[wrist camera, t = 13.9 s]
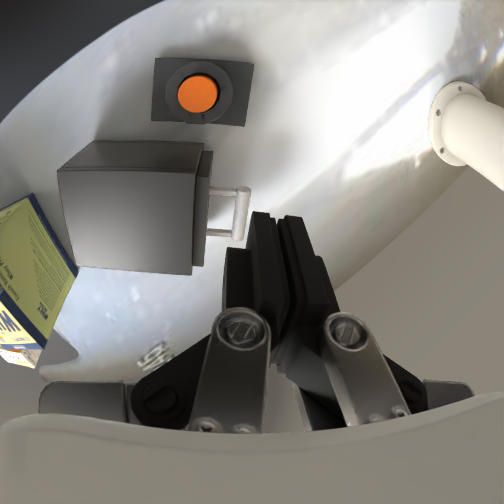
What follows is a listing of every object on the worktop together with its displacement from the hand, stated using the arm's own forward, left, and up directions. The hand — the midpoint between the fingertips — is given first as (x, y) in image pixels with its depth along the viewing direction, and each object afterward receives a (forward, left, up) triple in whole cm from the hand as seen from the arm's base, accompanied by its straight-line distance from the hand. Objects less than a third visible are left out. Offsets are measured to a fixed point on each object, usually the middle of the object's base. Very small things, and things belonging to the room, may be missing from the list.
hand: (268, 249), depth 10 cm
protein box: (+31, +20, -24) cm, 44 cm away
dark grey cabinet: (+11, +10, -24) cm, 28 cm away
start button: (+4, -2, -21) cm, 22 cm away
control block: (+4, -2, -24) cm, 25 cm away
